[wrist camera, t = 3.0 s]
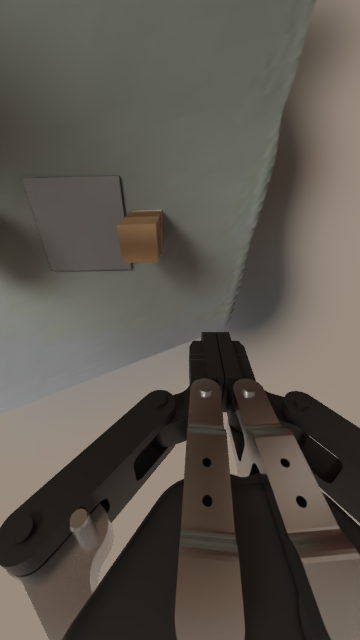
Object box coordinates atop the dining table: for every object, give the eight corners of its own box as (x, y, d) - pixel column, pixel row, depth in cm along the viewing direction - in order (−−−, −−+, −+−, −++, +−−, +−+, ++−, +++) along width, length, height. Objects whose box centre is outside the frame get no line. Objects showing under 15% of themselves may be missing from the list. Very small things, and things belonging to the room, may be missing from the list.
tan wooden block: (131, 210, 32) (116, 224, 24) (161, 209, 32) (155, 223, 24) (135, 241, 34) (122, 263, 26) (163, 240, 34) (158, 262, 26)
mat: (22, 178, 30) (21, 178, 29) (119, 175, 30) (118, 175, 29) (52, 269, 36) (51, 270, 36) (131, 268, 36) (131, 269, 36)
